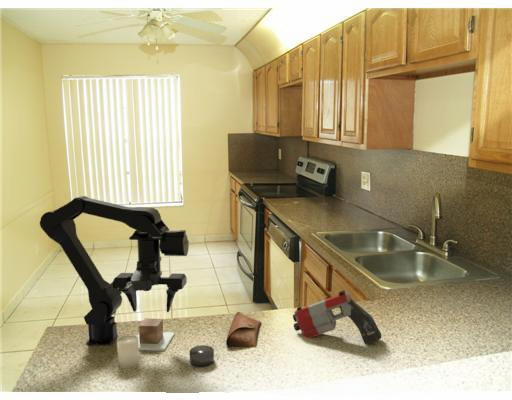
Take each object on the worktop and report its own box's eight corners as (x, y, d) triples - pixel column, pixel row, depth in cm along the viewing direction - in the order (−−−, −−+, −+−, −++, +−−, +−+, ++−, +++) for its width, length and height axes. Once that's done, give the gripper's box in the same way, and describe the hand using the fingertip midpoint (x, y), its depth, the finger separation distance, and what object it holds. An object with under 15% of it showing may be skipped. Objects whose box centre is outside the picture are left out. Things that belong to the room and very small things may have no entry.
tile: (127, 349, 118) (127, 347, 118) (140, 333, 128) (140, 331, 128) (164, 350, 117) (164, 348, 117) (174, 334, 127) (174, 332, 127)
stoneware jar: (115, 367, 109) (113, 344, 108) (122, 357, 114) (121, 335, 113) (135, 368, 108) (134, 344, 107) (141, 358, 113) (141, 335, 112)
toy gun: (311, 354, 130) (289, 308, 130) (381, 332, 123) (358, 282, 124) (308, 363, 125) (285, 314, 125) (381, 340, 119) (357, 288, 119)
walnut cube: (139, 343, 120) (138, 325, 120) (145, 335, 125) (145, 318, 125) (157, 343, 120) (157, 326, 119) (163, 336, 125) (162, 318, 124)
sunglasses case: (258, 348, 118) (245, 327, 118) (235, 360, 119) (222, 339, 119) (262, 321, 136) (250, 303, 136) (242, 332, 137) (231, 313, 136)
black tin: (187, 367, 109) (186, 355, 108) (192, 356, 115) (192, 344, 114) (211, 368, 108) (211, 356, 108) (215, 356, 114) (215, 345, 114)
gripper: (102, 263, 112) (106, 322, 114) (175, 263, 111) (177, 324, 113) (119, 252, 123) (122, 306, 125) (186, 253, 122) (188, 308, 124)
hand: (151, 311), depth 121 cm, fingers open, 9 cm apart
